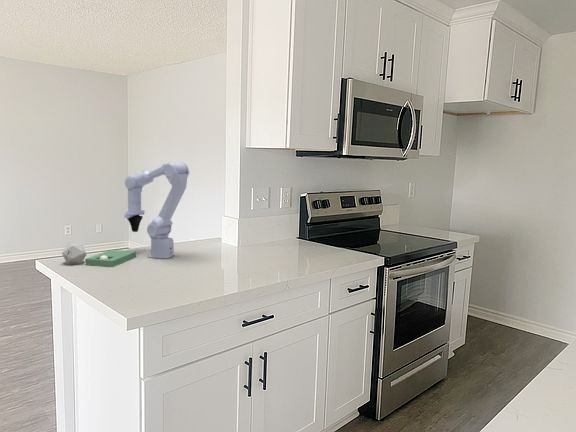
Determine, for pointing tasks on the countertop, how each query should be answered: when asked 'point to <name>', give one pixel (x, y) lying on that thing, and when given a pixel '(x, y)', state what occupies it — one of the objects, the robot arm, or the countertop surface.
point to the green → (111, 258)
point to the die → (74, 253)
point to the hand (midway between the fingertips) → (135, 231)
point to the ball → (104, 257)
